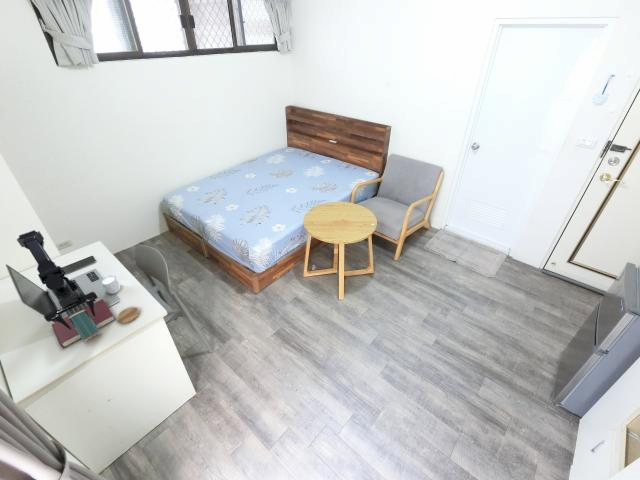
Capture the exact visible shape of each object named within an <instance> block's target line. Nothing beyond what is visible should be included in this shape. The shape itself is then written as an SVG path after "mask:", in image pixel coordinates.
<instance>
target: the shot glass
mask: <svg viewBox="0 0 640 480" xmlns="http://www.w3.org/2000/svg"><path fill="white" fill-rule="evenodd" d="M100 284H101V286H102V287H103V288H104V289H105V290H106V292H107V293H108V294H109V295H113V294H116V293H118V292H120V290H121V285H120V283H119V280H118V278H117V276H116V275H109V276H106V277H104V278H103V279H102V280H101V282H100Z"/></svg>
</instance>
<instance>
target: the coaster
mask: <svg viewBox="0 0 640 480" xmlns="http://www.w3.org/2000/svg"><path fill="white" fill-rule="evenodd" d="M139 314H140V310H139V308H137V307H128V308H126V309H124V310H122V311H121V312H120V313H119V314H118V315H117V322H119V323H121V324H127V323H128V324H129V323H131V322H133V321H135V320H136V319H137V318H138V316H139Z"/></svg>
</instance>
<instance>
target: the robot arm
mask: <svg viewBox="0 0 640 480" xmlns="http://www.w3.org/2000/svg"><path fill="white" fill-rule="evenodd" d="M44 240H45V238H44V235H43V234H42V232H41V231H40V230H38V231H36V230H35V229H34V230H33V229H32V230H31V231H28V232H25V233H22V234H19V235H18V237H17V238H16V241H17V242H18V244H19V245H20V247H21V248H25V249H26V250H29V252H30V254H31V255H32V257H33V259H34V260H35V261H36V263H37V268H36V270H37V272H38V274H37V275H38V278H39V280H40V282H41V283H42V285H45V287H46V288H47V289H48V290H50V291H51V292H52V293H53V295H54V296H55V298H56V299H57V301H58V304H59V306H60V308H59V309H58V310H55V309H53V310H52V311H50V312H47V313H45V314H44V315H43V318H44V320H45V321H46V322H48V323H50V322H54V323H56V322H60V323H62V324H63V325H64V326H66V327H67V328H69V329H70V330H71V328H70V326H69V325H68V324H67V323H66V321H65V320H64V317H62V316H60V315H61V314H64V313H66V312H68V311H70V310H72V309H74V308H76V307H78V306H80V305H82V304H84V303H85V302H86V304H87V305H88V306H89V307H90V310H91V312H92V314H93V316H94V317H95V312H94V303H95V302H97V299H98V298H99V296H98V295H97V293H96V292H95V291H91V292H89V293H86V294H84V295H80V294H79V292H78V291H77V290H78V288H79V285H78V284H77V283H76V281H74V280H73V279H69V277H67V276H66V274H67V273H66V271H65V269H64V267H62V266H60V265H57V264H56V262H54V261H53V260H52V258H51V257H50V255H49V254H48V252H47V251H46V250H45V241H44Z"/></svg>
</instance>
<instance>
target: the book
mask: <svg viewBox="0 0 640 480" xmlns="http://www.w3.org/2000/svg"><path fill="white" fill-rule="evenodd" d="M85 309H86V311H87V312H88V314H89V315H90V317H91V318H92V320H93V321H94V323H95V325H96V326H97V328H98V329H99V330H100V329H101V328H103V327H106V326H107V325H109V324H110V323H112V322H114V321H116V320H117V319H116V316H114V314H113V312H112V311H111V310H110V308H109V306H108V305H107V303H106V302H105V300H104V299H103V298H101V299H99V300H98V301H97V300H96V301H95V302H94V312H95V317H94V316H93V314H92V312H91V310H90V307H89V305H88V306H87V305H86V307H84V308H81V309H80V310H77V311H75V312H74V313H71V314H69V315H68V316H66V317H63V319H64V320H65V321H66V323H67V324H68V325H69V326H70V328H71V330H70V329H69V328H67V327H66V326H64V325H63V324H62V323H60V322H58V321H55V322H54V323H52V324H51V327H52V330H53V332H54V334H55V337H56V339H57V341H58V343H59V345H60V347H61V348H62V349H65V348H67V347H68V346H70V345H72V344H74V343H76V342H78V341H80V340H82V339H81V337H80V336H79V334H78V333H77V331H76V329H75V328H74V326H73V325H72V323H71V322H70V320H69V319H68V318H69V317H70V316H72V315H73V314H75V313H77V312H79V311H82V310H85Z"/></svg>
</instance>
